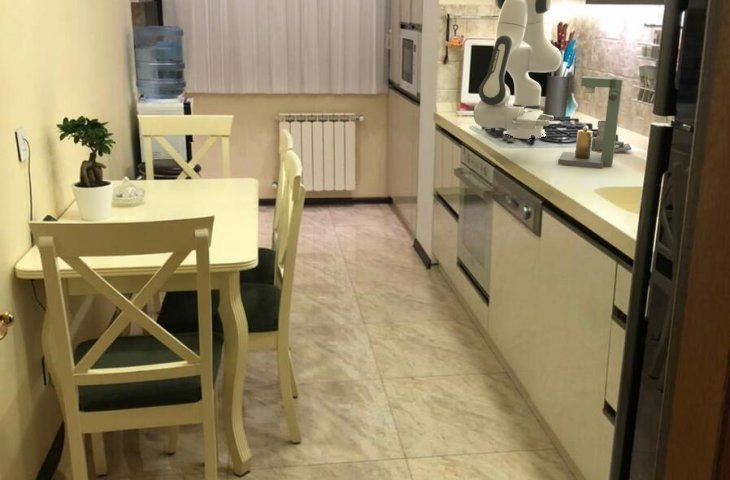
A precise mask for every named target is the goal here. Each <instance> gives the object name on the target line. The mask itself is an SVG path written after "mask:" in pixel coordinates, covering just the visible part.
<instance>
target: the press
mask: <svg viewBox="0 0 730 480" xmlns="http://www.w3.org/2000/svg"><path fill="white" fill-rule="evenodd" d="M623 82H624V77H613V76H612V77H611V76H609V77H608V76H594V75H593V76H592V75H591V76H590V75H582V77H581V83H580V87H584V93H586V94H594V93H595V92H596V88H609V90H608V98H607V104H606V105H607V106H606V115H605V120H604V121H605V130H604V138H603V147H602V151H601V154H594V153H593V154H592V153H590V158H589V159H579V158H576V157H575V152H572V151H563V152H562V153H561V154H560V156H559V158H558V162H557V165H558V164H562V166H569V165H571V166H572V167H581V168H591V169H603V167H607V168H608V167H609V168H612V166H613V163H614V156H615V155H614V154H615V152H614V148H615V146H616V145H615V141H616V138H617V137H616V136H617V129H618V123H619V116H620V106H621V99H622V98H621V97H622V90H623ZM571 166H570V167H571Z"/></svg>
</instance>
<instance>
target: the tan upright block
mask: <svg viewBox="0 0 730 480" xmlns="http://www.w3.org/2000/svg"><path fill="white" fill-rule="evenodd" d="M582 127H583V128H582V129H578V130H577V134H576V144H575V152H574V153H575V157H576V158H579V159H589V158H590V154H591V151H592V149H591V146H592V138H593V132H594V131H592V130H589V128H588V127H587V126H582Z"/></svg>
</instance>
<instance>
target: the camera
mask: <svg viewBox="0 0 730 480" xmlns="http://www.w3.org/2000/svg"><path fill="white" fill-rule="evenodd" d="M605 121H606V120H598V121H597V125H596V126H597V133H596V136H592V141H591V151H595V152H602V147H603V138H604V130H605ZM631 150H632V147H631V145H630V144H629V143H625V142H624V141H618V140H615V148H614V153H618V152H624V151H631Z"/></svg>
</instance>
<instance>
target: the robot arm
mask: <svg viewBox="0 0 730 480" xmlns="http://www.w3.org/2000/svg"><path fill="white" fill-rule="evenodd" d="M495 3H496V6H497V8H498V9H499V10H500V11H499V14H498V18H497V24H496V27H495V28H496V29H495V35H494V44H493V50H492V54H491V55H492V56H491V58H490V62H489V66H488V69H487V73H486V76H485V78H484V79H483V80H482V82H481V84H480V85H479V88H478V96H479V99H480V100H479V101H478V102H477V104H476V105H474V107H473V120H474V122H475V123H476V125H478V126H480V127H484V128H488V129H489V128H491V129H498V128H502V129H504V131H503V132H502V135H504V136H506V135H505V134H509V135H511V136H513V137H512V138H515V139H520V140H521V139H523V140H530V139H529V138H530V136H531V135H534V136H535V140H536V139H542V138H541V137H545V136H546V137H547V133H546V130H545V129H544V126H545V127H548V126H550V125H551V122H553V121H554V119H555V117H554V115H549V114H547V113H546V114H545V113H544V111H543V110H542V107H541V97H542V86H541V84H539V83H538V82H537V81H536V80H534V79H532V78H531V77H530V75H529V73H552V72H556V71H557V70H558V69H559V68H560V67H561V64H562V59H563V58H562V57H563V56H562V52H561V51H560V49H558V47H556V46H555V45H553V44H552V42H550V40H549V37H548V36H547V35H546V27H545V24H546V23H545V22H546V21H545V18H546V17H545V13H547V12H548V11H549V10H550V9H551V6H552V3H553V0H495ZM522 42H524V43H526V44H527V45H526V44H522ZM506 71H507V72H508V73H509V75H510V77H511V78H512V80H513V85H514V100H513V101H514V102H513V103H512V105H508V104H509V101H510V99H511V98H510V97H511V90H510V87H509V86H508V85H507V84H506V83H505V75H506ZM545 133H546V134H545ZM542 134H543V135H542Z"/></svg>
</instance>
